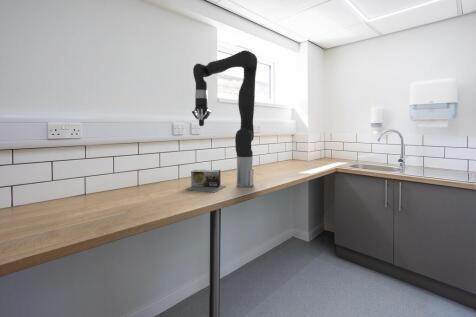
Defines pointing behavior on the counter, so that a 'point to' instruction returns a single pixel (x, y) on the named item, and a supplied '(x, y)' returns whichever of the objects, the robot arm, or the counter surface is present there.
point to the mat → (206, 189)
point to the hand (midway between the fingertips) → (201, 126)
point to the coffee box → (205, 178)
